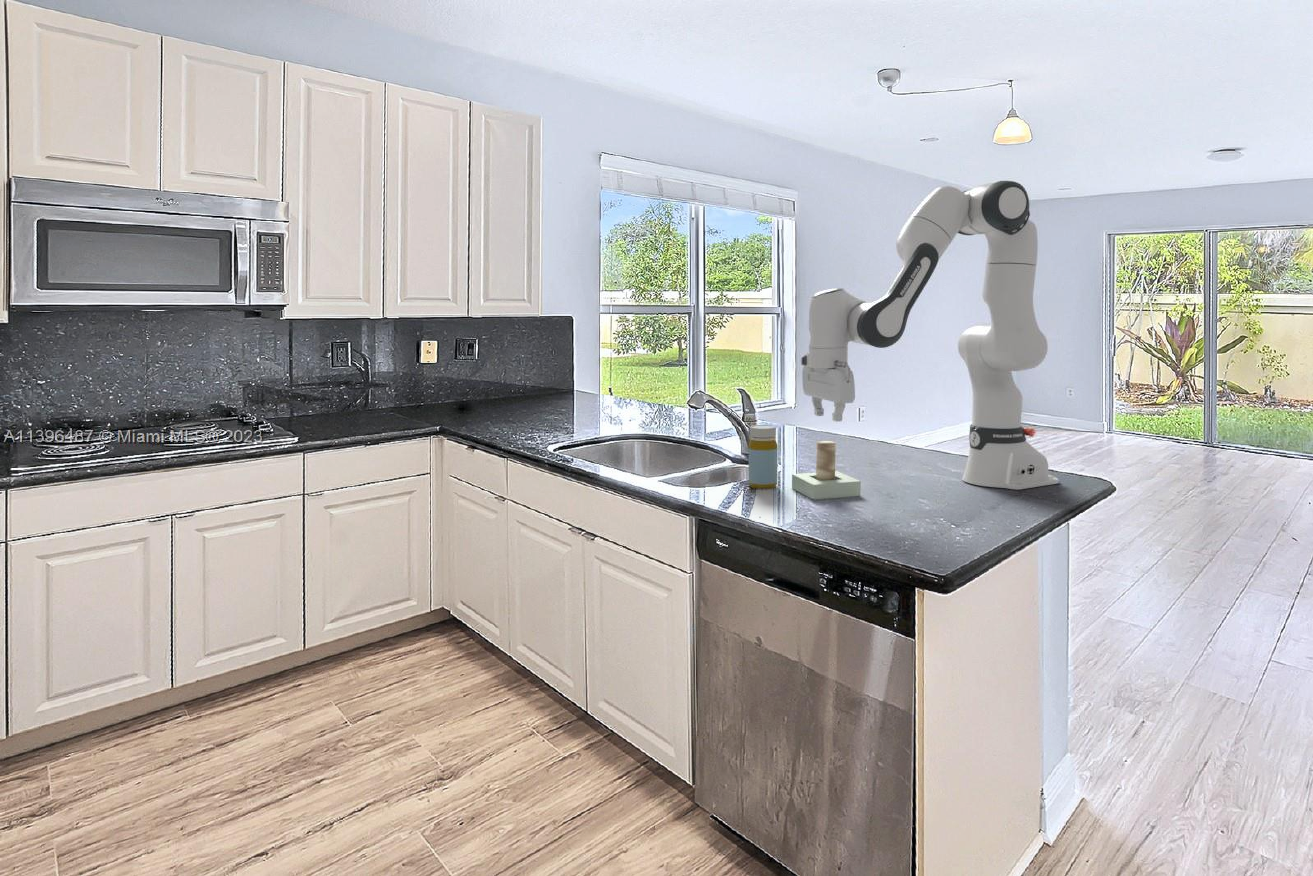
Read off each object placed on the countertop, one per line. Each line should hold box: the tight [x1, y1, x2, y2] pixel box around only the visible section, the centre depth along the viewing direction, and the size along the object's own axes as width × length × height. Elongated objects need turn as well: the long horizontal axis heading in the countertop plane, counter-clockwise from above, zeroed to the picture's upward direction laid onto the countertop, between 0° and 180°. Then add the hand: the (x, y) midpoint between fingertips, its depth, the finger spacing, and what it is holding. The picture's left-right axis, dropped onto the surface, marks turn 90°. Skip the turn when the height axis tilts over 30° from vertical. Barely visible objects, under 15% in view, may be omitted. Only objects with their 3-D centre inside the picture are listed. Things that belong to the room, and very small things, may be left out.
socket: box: [791, 470, 862, 500], centre depth 186 cm, size 12×12×4 cm
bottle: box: [748, 424, 779, 490], centre depth 192 cm, size 7×7×15 cm
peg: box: [815, 440, 837, 481], centre depth 186 cm, size 4×4×12 cm
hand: (828, 418), depth 184 cm, fingers open, 8 cm apart
